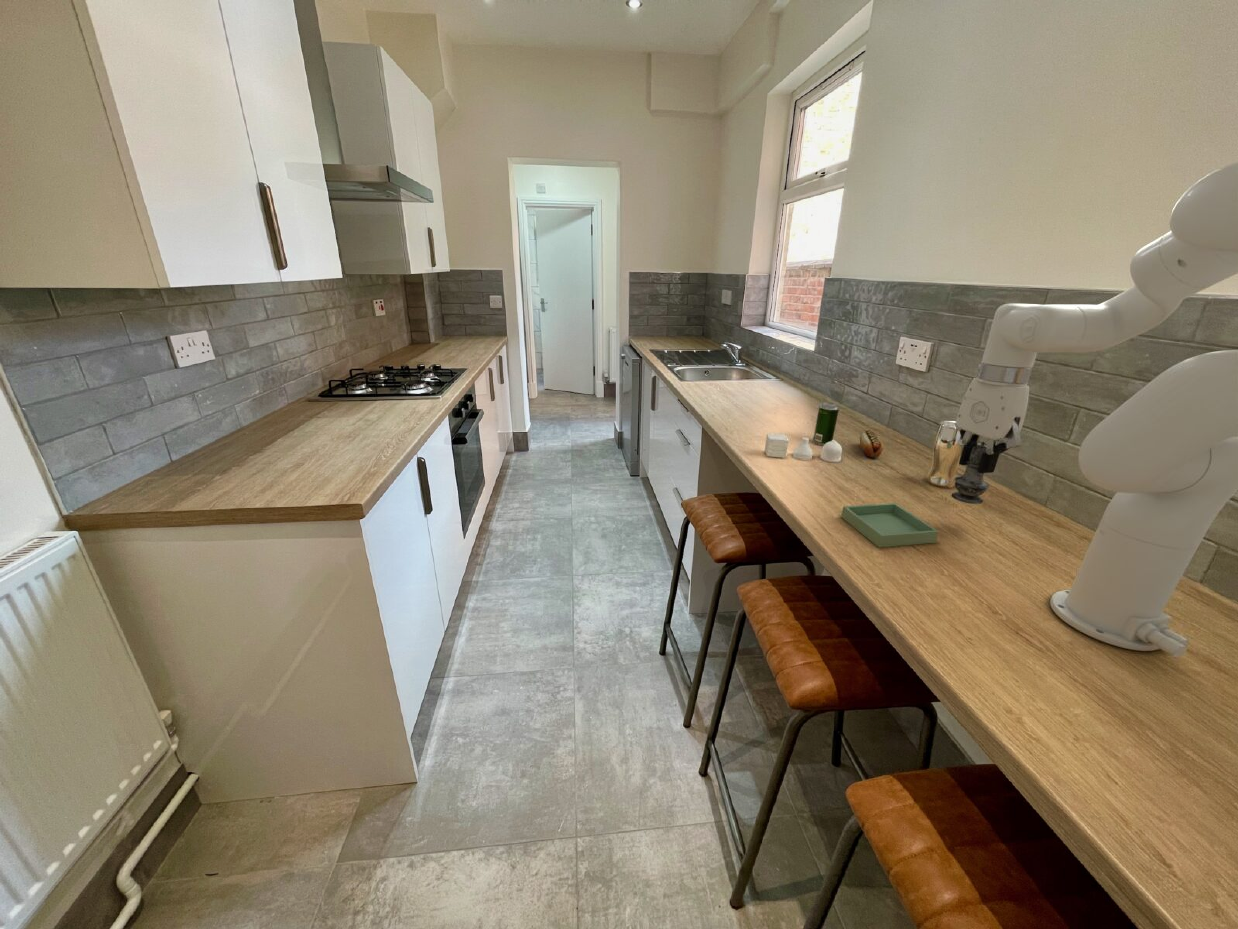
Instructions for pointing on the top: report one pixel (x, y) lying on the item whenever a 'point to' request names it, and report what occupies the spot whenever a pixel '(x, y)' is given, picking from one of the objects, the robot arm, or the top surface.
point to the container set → (801, 449)
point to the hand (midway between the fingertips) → (976, 467)
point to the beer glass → (945, 455)
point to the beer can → (825, 423)
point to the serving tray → (889, 525)
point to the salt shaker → (971, 479)
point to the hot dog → (871, 443)
